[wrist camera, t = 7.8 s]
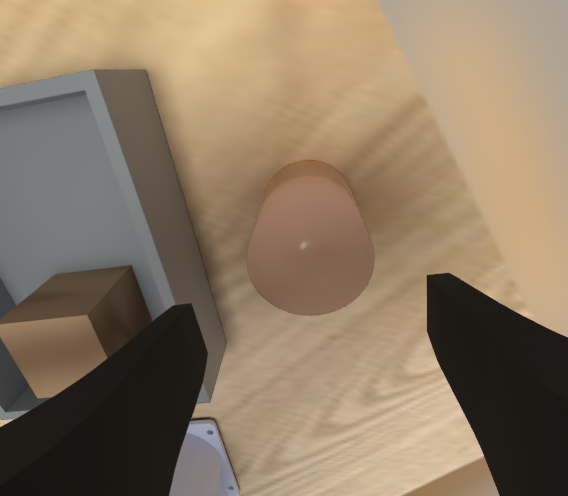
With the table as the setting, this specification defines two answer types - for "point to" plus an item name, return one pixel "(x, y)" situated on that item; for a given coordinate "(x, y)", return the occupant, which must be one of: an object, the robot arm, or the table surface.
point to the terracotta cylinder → (309, 241)
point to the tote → (94, 205)
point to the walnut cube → (73, 325)
